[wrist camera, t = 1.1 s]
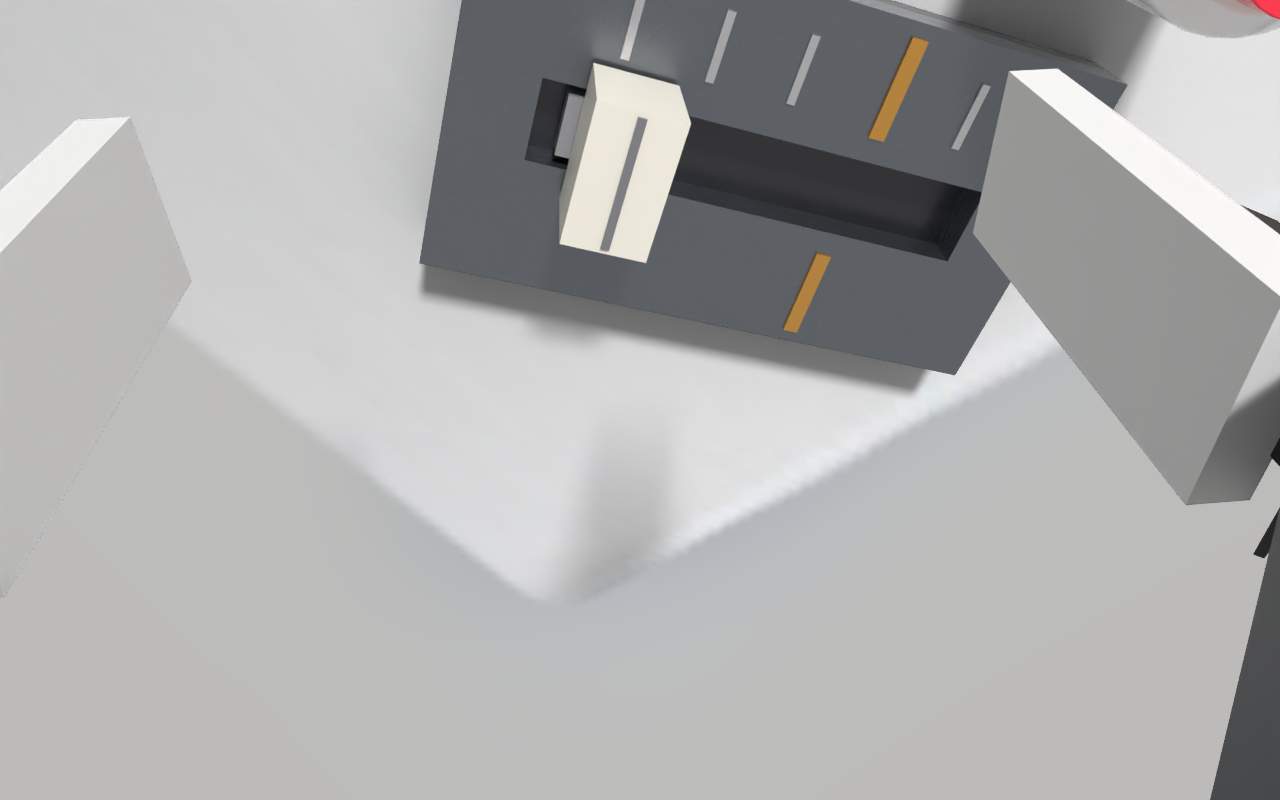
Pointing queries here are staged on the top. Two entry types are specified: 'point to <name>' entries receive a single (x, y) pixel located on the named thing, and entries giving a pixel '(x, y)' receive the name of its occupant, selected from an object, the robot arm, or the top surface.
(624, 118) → the fader
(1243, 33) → the pill bottle
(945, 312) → the console
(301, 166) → the top surface
